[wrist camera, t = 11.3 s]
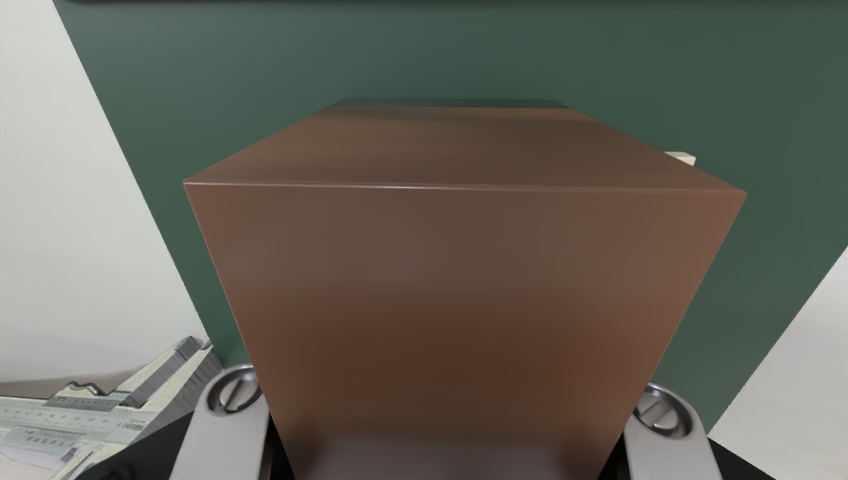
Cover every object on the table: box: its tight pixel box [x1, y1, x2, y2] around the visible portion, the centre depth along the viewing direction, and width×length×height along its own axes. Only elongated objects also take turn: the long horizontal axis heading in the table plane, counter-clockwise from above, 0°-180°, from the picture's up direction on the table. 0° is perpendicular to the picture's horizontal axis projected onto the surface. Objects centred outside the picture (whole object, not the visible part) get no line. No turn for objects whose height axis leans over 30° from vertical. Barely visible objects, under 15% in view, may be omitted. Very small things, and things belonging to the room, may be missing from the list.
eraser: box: [183, 98, 747, 480], centre depth 8 cm, size 5×11×6 cm, turn 0°
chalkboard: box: [52, 0, 848, 436], centre depth 11 cm, size 20×18×2 cm
